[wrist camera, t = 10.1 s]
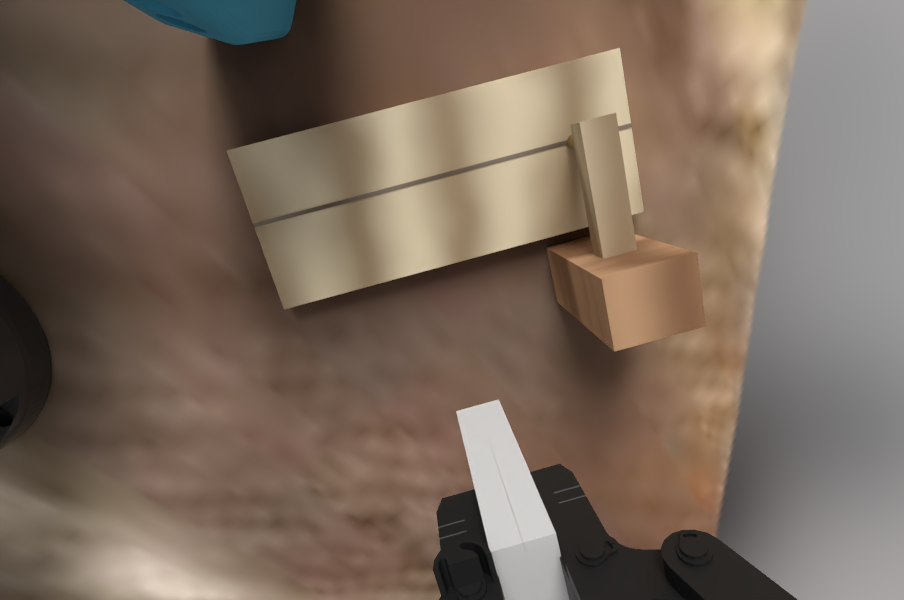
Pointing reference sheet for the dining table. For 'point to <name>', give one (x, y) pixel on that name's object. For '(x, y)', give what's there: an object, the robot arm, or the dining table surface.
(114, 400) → the dining table surface
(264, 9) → the block
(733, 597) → the robot arm
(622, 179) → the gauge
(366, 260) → the board
